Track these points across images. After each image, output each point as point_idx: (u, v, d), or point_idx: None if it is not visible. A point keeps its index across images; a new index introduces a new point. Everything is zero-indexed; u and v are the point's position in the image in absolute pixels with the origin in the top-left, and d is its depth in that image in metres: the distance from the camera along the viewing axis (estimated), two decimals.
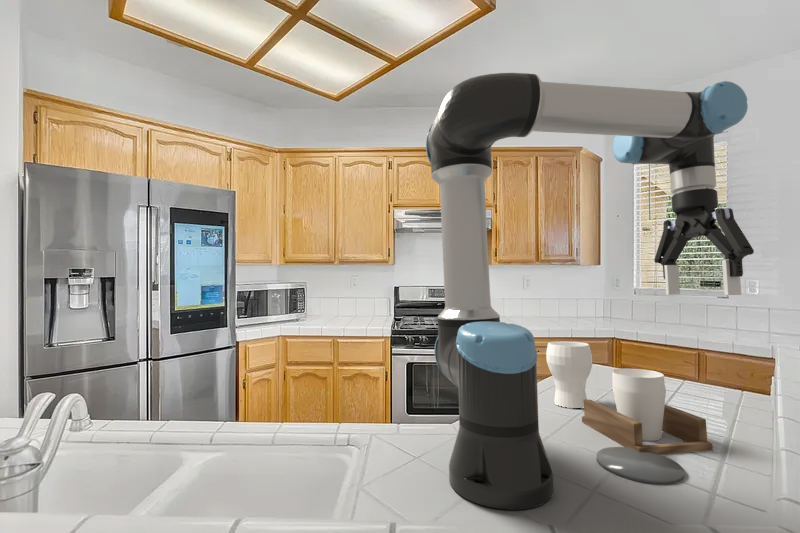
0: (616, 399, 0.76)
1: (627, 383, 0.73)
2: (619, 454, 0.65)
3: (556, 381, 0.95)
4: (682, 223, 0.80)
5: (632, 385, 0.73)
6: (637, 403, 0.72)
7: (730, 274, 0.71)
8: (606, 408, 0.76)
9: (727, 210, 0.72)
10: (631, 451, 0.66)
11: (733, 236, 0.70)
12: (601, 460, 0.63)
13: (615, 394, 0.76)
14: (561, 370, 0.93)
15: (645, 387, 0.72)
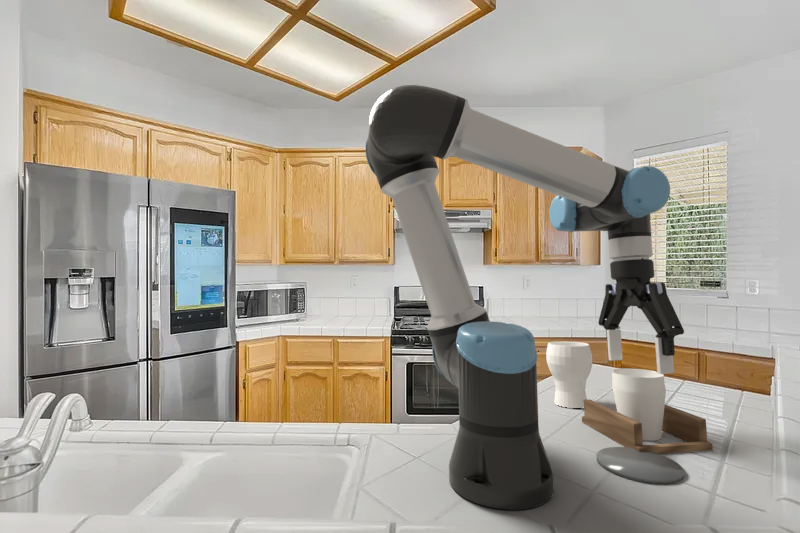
0: (616, 399, 0.76)
1: (627, 383, 0.73)
2: (619, 454, 0.65)
3: (556, 381, 0.95)
4: (620, 291, 0.78)
5: (632, 385, 0.73)
6: (637, 403, 0.72)
7: (662, 352, 0.69)
8: (606, 408, 0.76)
9: (659, 285, 0.70)
10: (631, 451, 0.66)
11: (664, 314, 0.68)
12: (601, 460, 0.63)
13: (615, 394, 0.76)
14: (561, 370, 0.93)
15: (645, 387, 0.72)
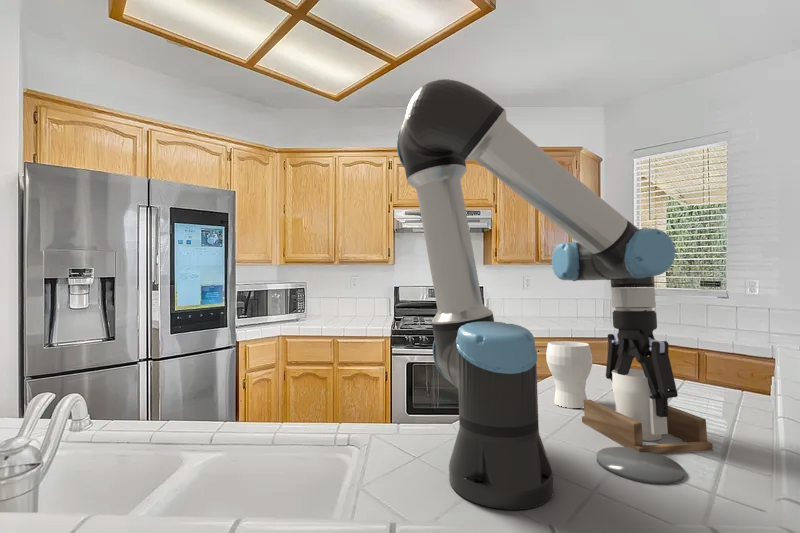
0: (616, 399, 0.76)
1: (627, 383, 0.73)
2: (619, 454, 0.65)
3: (556, 381, 0.95)
4: (622, 341, 0.77)
5: (632, 385, 0.73)
6: (637, 403, 0.72)
7: (656, 413, 0.70)
8: (606, 408, 0.76)
9: (662, 345, 0.70)
10: (631, 451, 0.66)
11: (661, 377, 0.68)
12: (601, 460, 0.63)
13: (615, 394, 0.76)
14: (561, 370, 0.93)
15: (645, 386, 0.72)
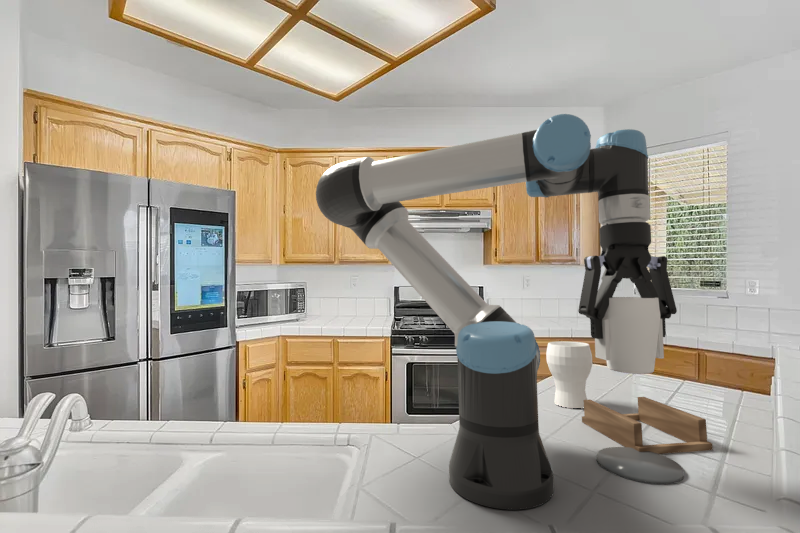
0: None
1: None
2: (619, 454, 0.65)
3: (556, 381, 0.95)
4: None
5: None
6: None
7: None
8: (606, 408, 0.76)
9: (588, 260, 0.64)
10: (631, 451, 0.66)
11: (581, 293, 0.65)
12: (601, 460, 0.63)
13: None
14: (561, 370, 0.93)
15: None
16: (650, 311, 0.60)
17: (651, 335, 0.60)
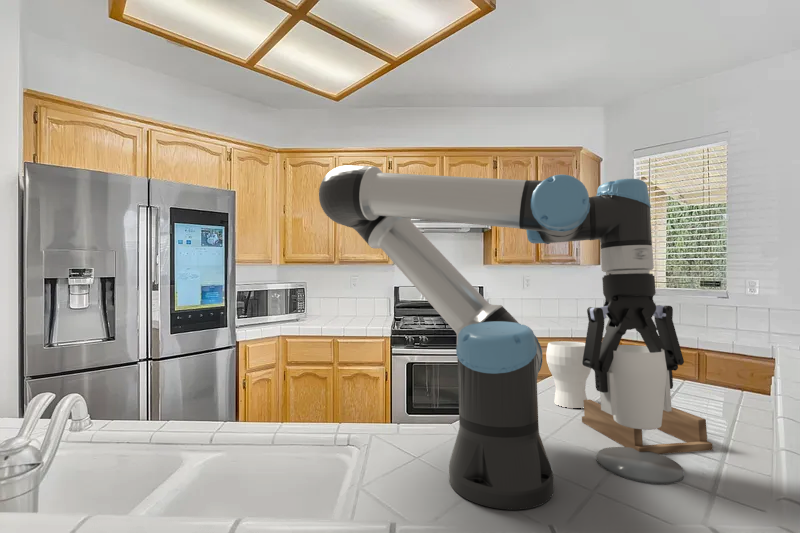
0: None
1: None
2: (619, 454, 0.65)
3: (556, 381, 0.95)
4: None
5: None
6: None
7: None
8: None
9: (591, 311, 0.63)
10: (631, 451, 0.66)
11: (585, 344, 0.64)
12: (601, 460, 0.63)
13: None
14: (561, 370, 0.93)
15: None
16: (655, 366, 0.59)
17: (658, 390, 0.59)
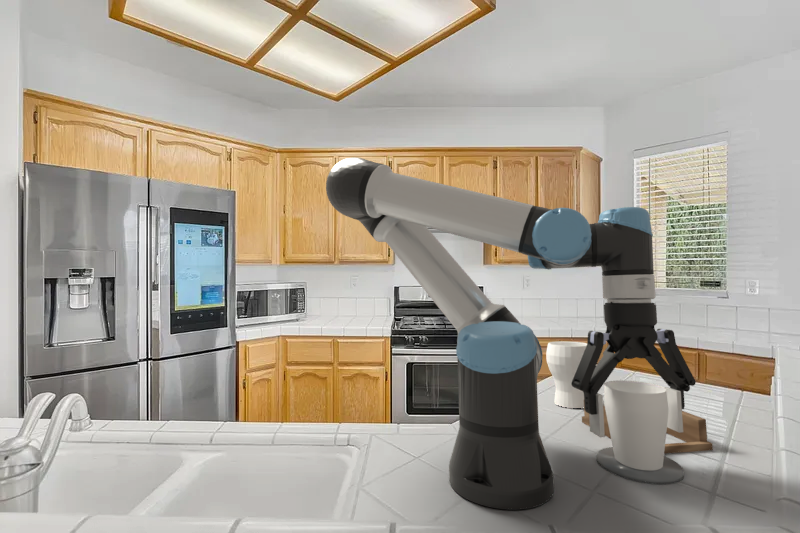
0: None
1: None
2: None
3: (556, 381, 0.95)
4: None
5: None
6: None
7: None
8: None
9: (592, 334, 0.63)
10: None
11: (578, 366, 0.63)
12: (601, 460, 0.63)
13: None
14: (561, 370, 0.93)
15: (604, 395, 0.64)
16: (657, 407, 0.58)
17: (659, 431, 0.59)
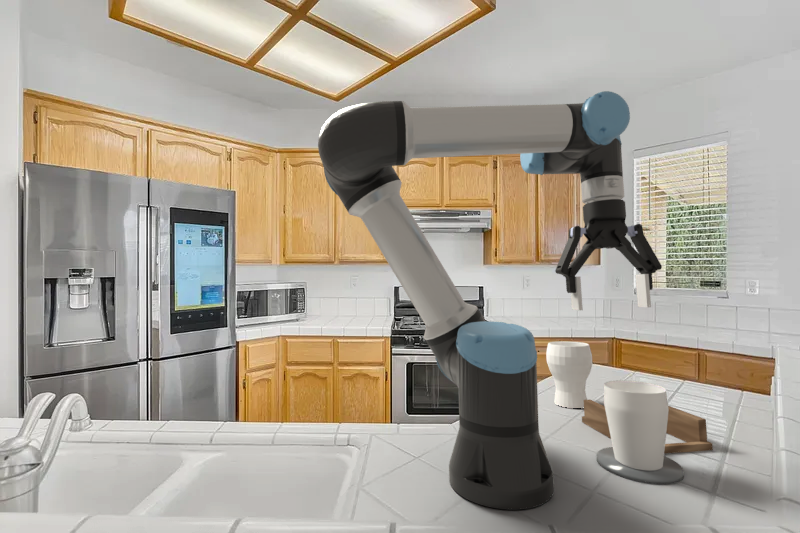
0: None
1: None
2: None
3: (556, 381, 0.95)
4: None
5: None
6: None
7: None
8: None
9: (571, 229, 0.76)
10: None
11: (561, 256, 0.77)
12: (601, 460, 0.63)
13: None
14: (561, 370, 0.93)
15: (604, 395, 0.64)
16: (657, 407, 0.58)
17: (659, 431, 0.59)
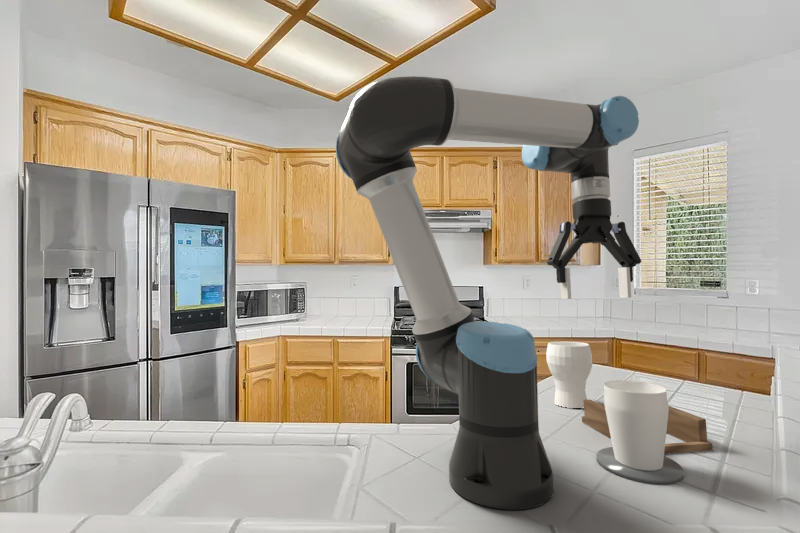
0: None
1: None
2: None
3: (556, 381, 0.95)
4: None
5: None
6: None
7: None
8: None
9: (562, 224, 0.83)
10: None
11: (552, 249, 0.83)
12: (601, 460, 0.63)
13: None
14: (561, 370, 0.93)
15: (604, 395, 0.64)
16: (657, 407, 0.58)
17: (659, 431, 0.59)
